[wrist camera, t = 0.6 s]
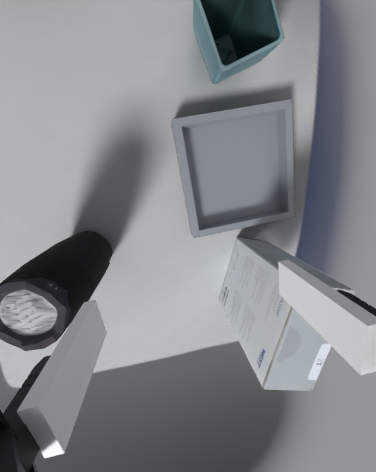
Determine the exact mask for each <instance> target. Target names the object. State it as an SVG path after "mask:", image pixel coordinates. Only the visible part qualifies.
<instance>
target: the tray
mask: <svg viewBox="0 0 376 472" xmlns="http://www.w3.org/2000/svg"><path fill="white" fill-rule="evenodd" d="M171 125H172V131H173V136H174V142H175V147H176V153H177V158H178V164H179V169H180V175H181V180H182V186H183V191H184V197H185V202H186V208H187V213H188V219H189V225H190V230H191V234H192V236H193V238H197V237H202V236H207V235H212V234H216V233H221V232H226V231H231V230H236V229H240V228H245V227H250V226H255V225H259V224H264V223H269V222H274V221H278V220H283V219H288V218H293V217H295V203H294V160H293V117H292V99H289V100H283V101H277V102H271V103H265V104H259V105H253V106H247V107H241V108H235V109H229V110H223V111H217V112H212V113H206V114H200V115H194V116H188V117H182V118H176V119H172V124H171Z"/></svg>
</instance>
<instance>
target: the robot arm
mask: <svg viewBox="0 0 376 472" xmlns="http://www.w3.org/2000/svg"><path fill="white" fill-rule="evenodd" d="M278 265H279V294H280V295H281V296H282V297H283V298H284V299H285V300H286V301H287V302H288V303H289V304H290V305H291V306H292V307H293V308H294V309H295V310H296V311H297V312H298V313H299V314H300V315H301V316H302V317H303V318H304V319H305V320H306V321H307V322H308V323H309V324H310V325H311V326H312V327H313V328H314V329H315V330H316V331H317V332H318V333H319V334H320V335H321V336H322V337H323V338H324V339H325V340H326V341H327V342H328V343H329V344H330V345H331V346H332V347H333V348H334V349H335V350H336V351H337V352H338V353H339V354H340V355H341V356H342V357H343V358H344V359H345V360H346V361H347V362H348V363H349V364H350V365H351V366H352V367H353V368H354V369H355V370H356V371H357V372H358V373H359V374H360V375H364V374H368V373H372V372H375V371H376V309H375V308H374V307H372V306H370V305H368V304H367V303H366V302H364V301H361V300H360V299H359V298H357V297H356V296H354V295H353V294H351V293H348V292H345V291H343V290H334V289H333V288H331V287H330V286H328V285H327V284H325V283H324V282H322V281H321V280H319V279H317V278H316V277H314V276H313V275H311V274H310V273H308V272H307V271H305V270H304V269H302V268H301V267H299V266H297V265H296V264H294V263H293V262H291V261H290V260H284V261H279V262H278ZM106 333H107V332H106V329H105V326H104V323H103V320H102V317H101V314H100V312H99V309H98V306H97V303H96V300H93V301H88V302H84V303H83V305H82V306H81V308H80V310H79V311H78V313H77V314H76V316H75V318H74V319H73V321H72V322H71V324H70V326H69V327H68V329H67V331H66V332H65V334H64V335H63V337H62V339H61V340H60V342H59V344H58V345H57V347H56V348H55V350H54V352H53V353H52V355H51V356H46V357H44V358H43V359H42V360H41V361H40V362H39V363H38V364H37V365H36V366H35V367H34V368H33V370H32V371H31V373H30V374H29V376H28V379H26V380H25V382H24V383H23V385H22V388H20V389H19V391H18V392H17V394H16V395H15V397H14V398H13V400H12V401H11V403H10V404H9V406H8V407H7V409H6V410H5V412H4V413H3V414H2V412H1V410H0V472H38V471H37V467H36V465H35V464H34V460H35V457H36V456H37V453H38V451H39V449H40V451H41V452H42V454H43V456H44V458H48V457H52V456H55V455H59V454H63V453H65V450H66V447H67V444H68V441H69V439H70V436H71V433H72V430H73V427H74V424H75V421H76V419H77V415H78V413H79V410H80V407H81V404H82V401H83V399H84V395H85V393H86V390H87V387H88V384H89V382H90V379H91V376H92V373H93V370H94V367H95V364H96V362H97V359H98V356H99V353H100V350H101V347H102V344H103V342H104V339H105V336H106Z"/></svg>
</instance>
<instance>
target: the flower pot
mask: <svg viewBox="0 0 376 472" xmlns="http://www.w3.org/2000/svg"><path fill="white" fill-rule="evenodd" d="M193 25H194V32H195V36H196V39H197V42H198V45H199V48H200V50H201V53H202V56H203V58H204V61H205V64H206V67H207V69H208V72H209V75H210V78H211V81H212V82H213V83H214V84H217V83H219V82H221V81H223V80H225V79H227V78H229V77H231V76H233V75H235V74H237V73H239V72H241V71H243V70H245V69H247V68H249V67H251V66H253V65H255V64H256V63H258V62H259V61H261V60H262V59H263V58H264V57H266V56H267V55H268V54H269V53H270V52H271V51H272V50H273V49H274V48H276V47H277V46H278V45H279V44H280V43H281V42H282V41H283V39H284V35H283V30H282V27H281V23H280V19H279V16H278V12H277V8H276V5H275V0H194V7H193ZM216 45H219V48H217V47H216ZM230 51H231V52H232V55H229V52H230Z"/></svg>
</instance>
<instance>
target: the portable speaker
mask: <svg viewBox="0 0 376 472" xmlns="http://www.w3.org/2000/svg"><path fill="white" fill-rule="evenodd" d="M111 256H112V249H111V248H110V245H109V243H108V242H107V240H105V239H104V238H103V237H102V236H100V235H99V234H98V233H96V232H90V231H84V232H82V233H79V234H77V235H74V236H72V237H69V238H67V239H65V240H63V241H61V242H59V243H57V244H55V245H54V246H52V247H51V248H49V249H48V250H46V251H44V252H43V253H41V254H40V255H38V256H37V257H35V258H34V259H32V260H30V261H29V262H27V263H26V264H24V265H23V266H21V267H20V268H19V269H18V270H16V271H15V272H14V273H13V274H11V275H10V276H9V277H8V278H6V279H5V280H4V281H3V282H1V283H0V339H2V340H3V341H5V342H6V343H9V344H11V345H14V346H16V347H19V348H21V349H23V350H25V351H29V350H36V349H43V348H46V347H47V346H49V345H51V344H52V343H54V342H56V341H57V340H58V339H59V338H60V337H61V335H62V334H63V333H64V331H65V330H66V328H67V327H68V326H69V325H70V323H71V322H72V321H73V319H74V318H75V316H76V314H77V313H78V311H79V310H80V308H81V306H82V305H83V303H84V302H88V301H89V299H90V297H91V296H92V294H93V292H94V291H95V289H96V287H97V286H98V284H99V282H100V281H101V279H102V277H103V276H104V274H105V272H106V270H107V268H108V266H109V264H110V263H109V261H110V259H111Z"/></svg>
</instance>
